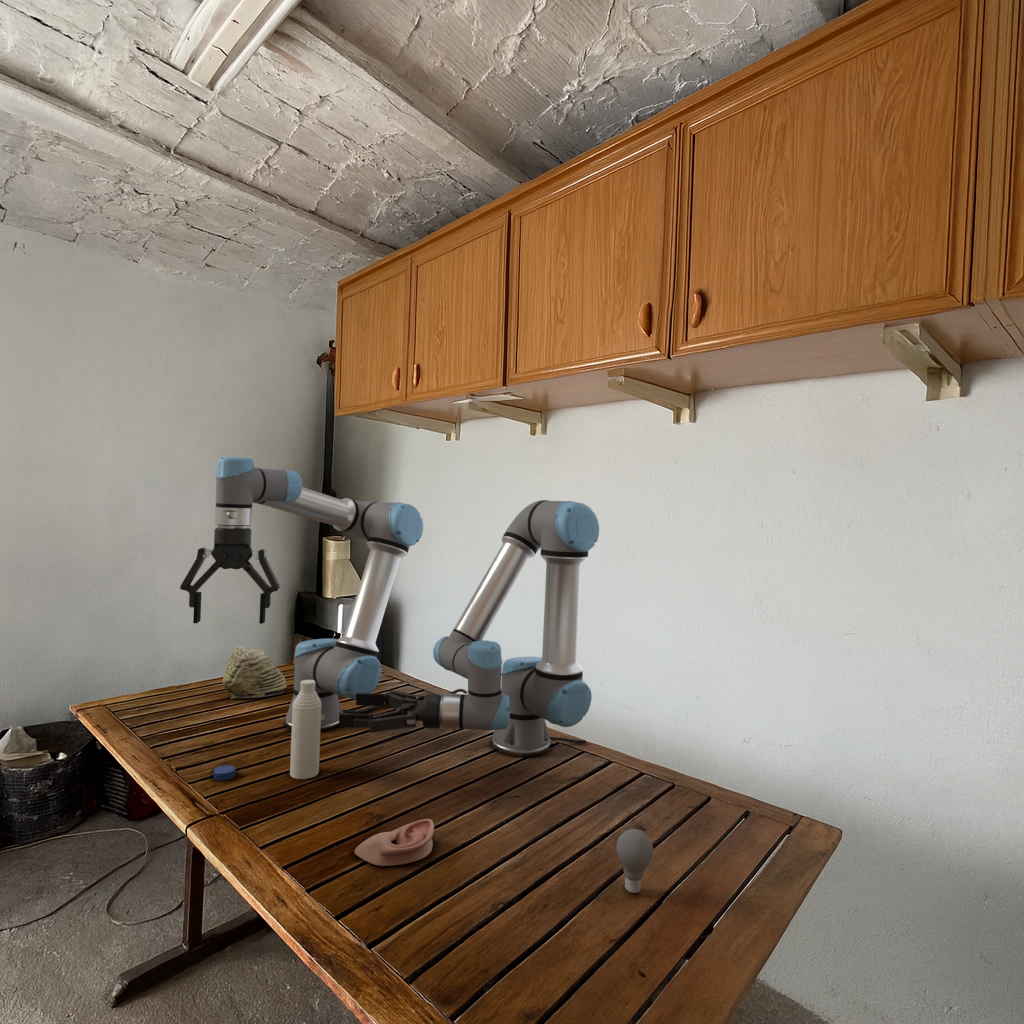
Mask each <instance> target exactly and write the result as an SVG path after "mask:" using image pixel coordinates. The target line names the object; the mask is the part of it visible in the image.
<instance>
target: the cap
mask: <svg viewBox="0 0 1024 1024" xmlns="http://www.w3.org/2000/svg"><path fill="white" fill-rule="evenodd" d="M235 776H236V767H235V766H234V765H231V764H229V765H228V764H227V765H226V764H225V765H220V766H217V767H216V768H214V770H213V775H212V778H213V780H215V781H217V782H224V781H228V780H232V779H233V778H234V777H235Z"/></svg>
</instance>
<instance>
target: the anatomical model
mask: <svg viewBox="0 0 1024 1024" xmlns="http://www.w3.org/2000/svg"><path fill="white" fill-rule="evenodd" d="M434 824H435V823H434V821H433V820H432V819H430V818H424V819H423V818H422V819H419V820H416V821H413V822H410V823H407V824H405V825H402V826H400V827H397V828H395V829H393V830H391V831H384V832H379V833H377V834H374V835H372V836H370V837H368V838H367V839H365V840H363V841H362V842H361V843H360V844H359V845H358V846H356V847H355V849H354V854H355V856H357V857H358V858H360V859H361V860H363V861H365V862H367V863H368V864H372V865H374V866H378V867H390V866H398V865H399V866H400V865H406V864H409V863H413V862H417V861H419V860H422V859H424V858H426V857H427V856H429V854H430V853H431V852H432V850H433V843H434V842H433V839H432V838H433V837H434V834H435V825H434Z"/></svg>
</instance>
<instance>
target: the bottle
mask: <svg viewBox="0 0 1024 1024" xmlns="http://www.w3.org/2000/svg"><path fill="white" fill-rule="evenodd" d="M300 683H301V684H300V685H301V687H300V692H299V694H298V695H297V697H296V698H295V700H294V703H293V707H292V729H291V733H290V735H291V737H290V759H289V760H290V761H289V776H290V777H291V778H292V779H294V780H295V779H296V780H306V779H307V780H308V779H311V778H315V777H316V776H317V775H319V772H320V751H321V748H320V747H321V731H320V727H321V700H320V699H319V696H318V694H316V691H315V681H314V680H303V681H301V682H300Z"/></svg>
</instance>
